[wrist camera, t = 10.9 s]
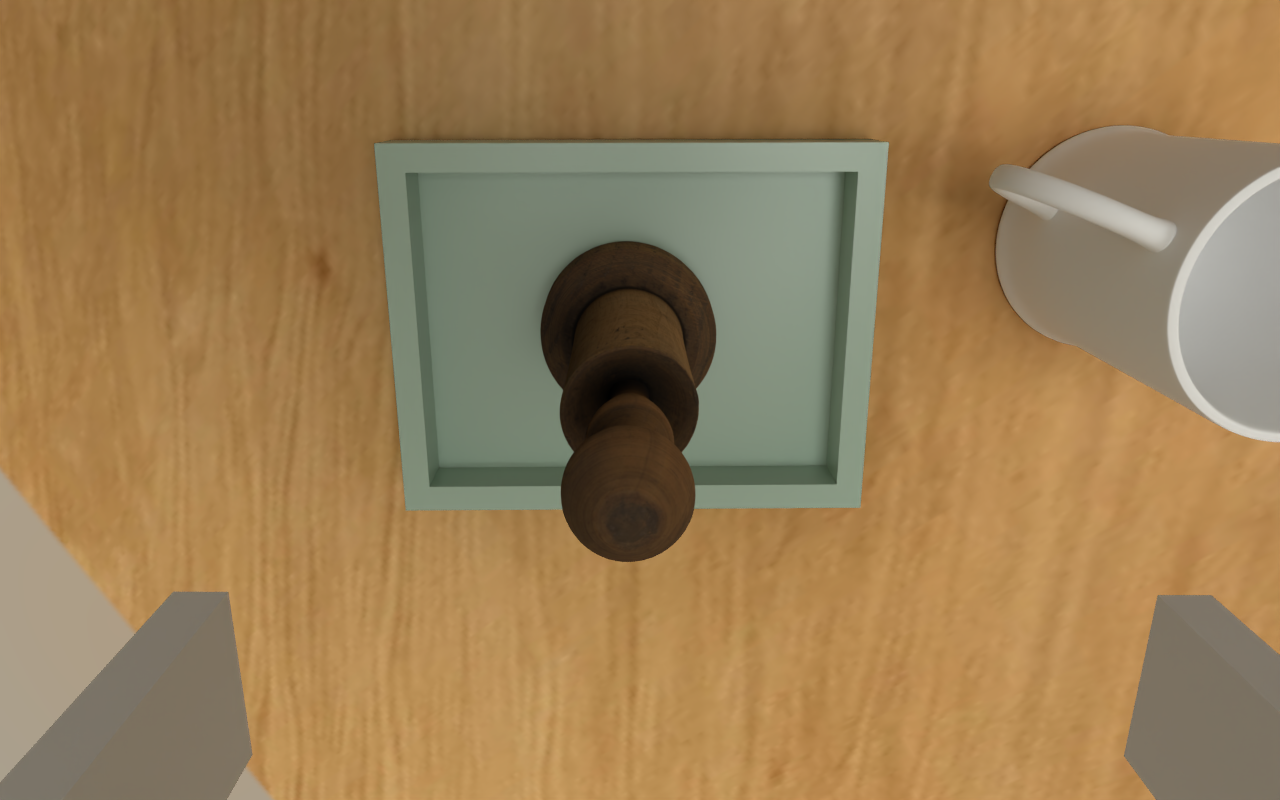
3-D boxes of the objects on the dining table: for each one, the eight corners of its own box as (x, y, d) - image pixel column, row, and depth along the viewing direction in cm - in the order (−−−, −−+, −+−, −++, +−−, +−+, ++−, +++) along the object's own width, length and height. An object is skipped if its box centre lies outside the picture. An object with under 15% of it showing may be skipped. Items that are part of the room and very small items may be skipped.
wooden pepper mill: (729, 259, 36) (821, 407, 19) (692, 415, 38) (745, 677, 21) (560, 224, 35) (496, 343, 18) (530, 384, 37) (449, 626, 20)
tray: (392, 140, 35) (373, 143, 33) (870, 139, 35) (888, 142, 33) (419, 484, 39) (405, 510, 37) (845, 481, 40) (860, 507, 37)
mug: (882, 242, 36) (998, 308, 25) (1011, 36, 34) (1202, 7, 23) (1122, 380, 38) (1331, 501, 27) (1259, 195, 36) (1551, 240, 25)
